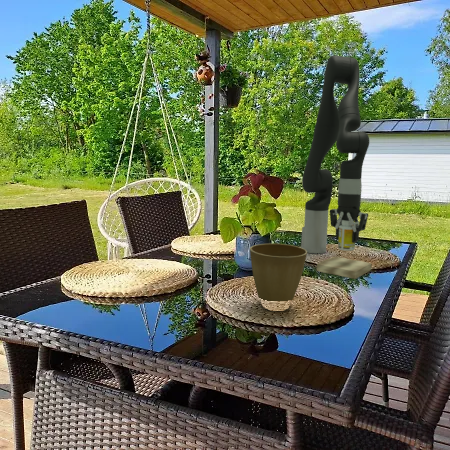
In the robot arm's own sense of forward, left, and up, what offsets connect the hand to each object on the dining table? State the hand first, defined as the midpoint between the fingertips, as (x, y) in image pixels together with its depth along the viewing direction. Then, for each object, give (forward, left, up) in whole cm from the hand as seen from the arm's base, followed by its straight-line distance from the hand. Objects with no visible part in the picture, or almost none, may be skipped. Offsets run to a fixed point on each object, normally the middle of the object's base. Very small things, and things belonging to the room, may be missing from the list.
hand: (346, 240), depth 158 cm
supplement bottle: (0, 0, -3) cm, 3 cm away
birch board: (0, 0, -11) cm, 11 cm away
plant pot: (+9, -46, -11) cm, 48 cm away
